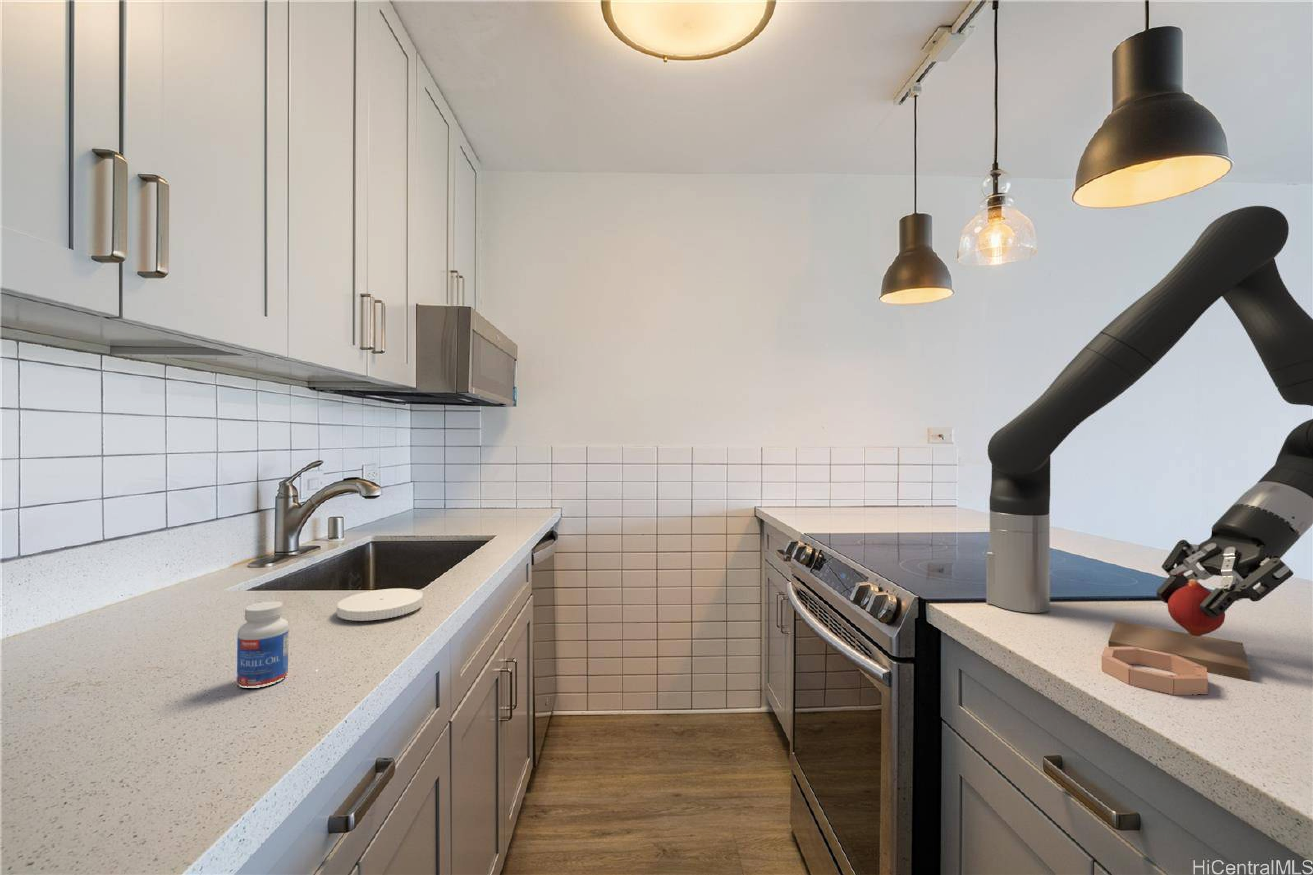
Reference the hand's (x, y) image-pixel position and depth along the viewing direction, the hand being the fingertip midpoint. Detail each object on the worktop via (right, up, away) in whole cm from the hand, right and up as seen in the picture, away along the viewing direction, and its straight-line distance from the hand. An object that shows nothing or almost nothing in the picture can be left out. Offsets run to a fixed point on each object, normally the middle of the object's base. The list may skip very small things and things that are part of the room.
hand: (1183, 606), depth 78 cm
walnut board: (0, -7, +2) cm, 7 cm away
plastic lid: (-124, -8, +21) cm, 126 cm away
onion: (+2, -4, 0) cm, 5 cm away
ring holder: (-10, -7, -6) cm, 14 cm away
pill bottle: (-126, -8, -7) cm, 126 cm away
